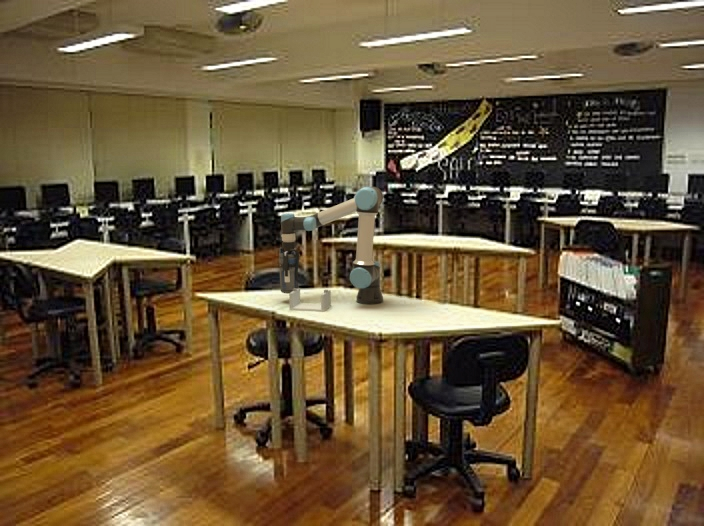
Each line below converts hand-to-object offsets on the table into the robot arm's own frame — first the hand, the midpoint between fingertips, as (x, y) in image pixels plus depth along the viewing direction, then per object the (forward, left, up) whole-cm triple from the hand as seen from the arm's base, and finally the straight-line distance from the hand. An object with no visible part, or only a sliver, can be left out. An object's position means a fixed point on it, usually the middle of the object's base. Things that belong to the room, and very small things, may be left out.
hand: (290, 280), depth 350 cm
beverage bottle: (0, 0, -7) cm, 7 cm away
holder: (-15, +13, -12) cm, 24 cm away
